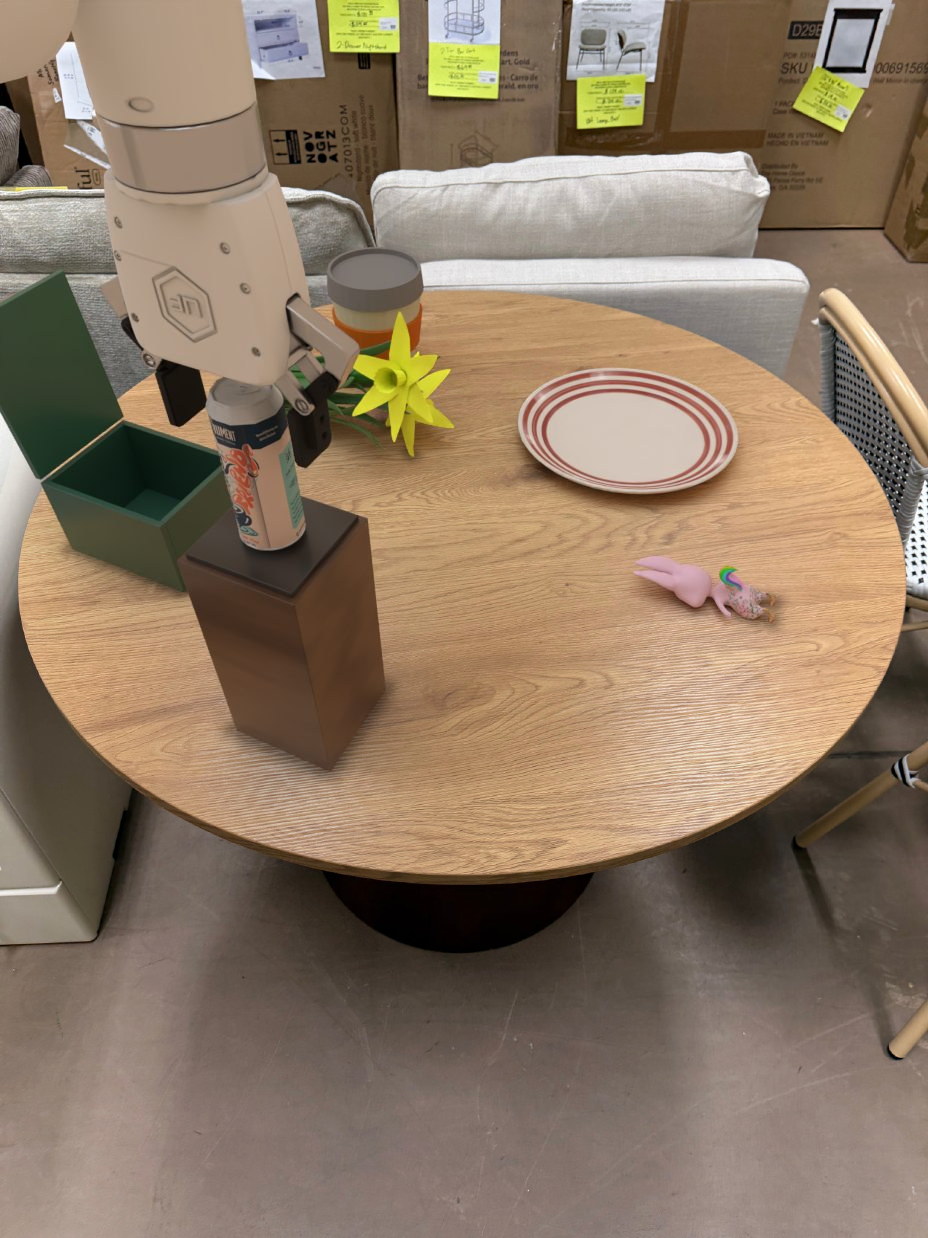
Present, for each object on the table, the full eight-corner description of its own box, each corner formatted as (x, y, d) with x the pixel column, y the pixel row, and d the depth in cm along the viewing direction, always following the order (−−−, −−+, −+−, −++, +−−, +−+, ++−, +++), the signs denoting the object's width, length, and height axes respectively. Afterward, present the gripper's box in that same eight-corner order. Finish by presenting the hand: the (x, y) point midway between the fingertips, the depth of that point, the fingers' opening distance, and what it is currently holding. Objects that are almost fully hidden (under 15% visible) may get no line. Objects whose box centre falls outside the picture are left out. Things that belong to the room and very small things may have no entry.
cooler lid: (63, 270, 78) (26, 263, 80) (-40, 329, 71) (-79, 320, 72) (124, 416, 90) (90, 408, 92) (41, 480, 82) (6, 469, 84)
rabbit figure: (765, 602, 88) (633, 558, 89) (792, 565, 83) (651, 519, 84) (763, 645, 84) (624, 598, 85) (790, 608, 79) (643, 559, 80)
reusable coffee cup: (324, 362, 117) (310, 257, 106) (403, 341, 121) (397, 238, 110) (358, 406, 109) (347, 299, 98) (441, 382, 113) (440, 277, 102)
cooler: (253, 525, 93) (237, 456, 86) (185, 596, 86) (160, 527, 79) (147, 487, 98) (123, 419, 90) (73, 552, 90) (39, 482, 83)
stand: (331, 775, 72) (293, 600, 55) (237, 733, 74) (174, 555, 58) (386, 692, 78) (367, 512, 61) (298, 657, 80) (256, 475, 64)
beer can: (233, 522, 60) (194, 377, 51) (295, 504, 61) (268, 361, 52) (250, 563, 57) (212, 418, 48) (315, 544, 58) (290, 399, 50)
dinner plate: (473, 430, 106) (473, 408, 103) (623, 363, 117) (626, 342, 115) (622, 545, 92) (627, 523, 89) (777, 456, 103) (785, 434, 100)
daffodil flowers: (293, 369, 117) (509, 370, 100) (262, 463, 114) (479, 481, 98) (211, 298, 102) (447, 285, 85) (173, 404, 100) (409, 412, 83)
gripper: (-3, 140, 40) (106, 430, 53) (291, 204, 35) (334, 507, 48) (103, 97, 45) (180, 374, 57) (377, 149, 40) (395, 439, 53)
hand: (250, 435), depth 53 cm, fingers open, 9 cm apart
